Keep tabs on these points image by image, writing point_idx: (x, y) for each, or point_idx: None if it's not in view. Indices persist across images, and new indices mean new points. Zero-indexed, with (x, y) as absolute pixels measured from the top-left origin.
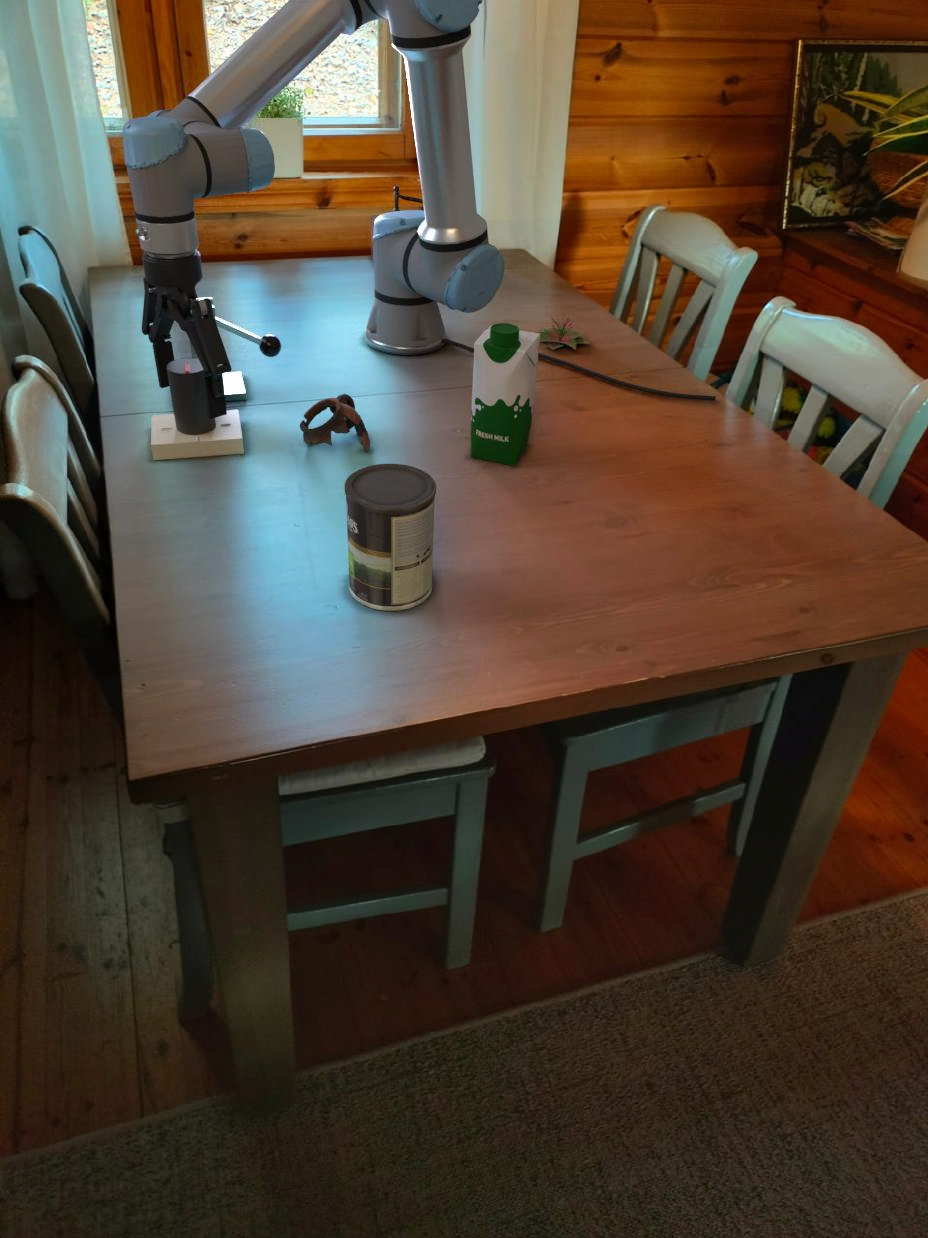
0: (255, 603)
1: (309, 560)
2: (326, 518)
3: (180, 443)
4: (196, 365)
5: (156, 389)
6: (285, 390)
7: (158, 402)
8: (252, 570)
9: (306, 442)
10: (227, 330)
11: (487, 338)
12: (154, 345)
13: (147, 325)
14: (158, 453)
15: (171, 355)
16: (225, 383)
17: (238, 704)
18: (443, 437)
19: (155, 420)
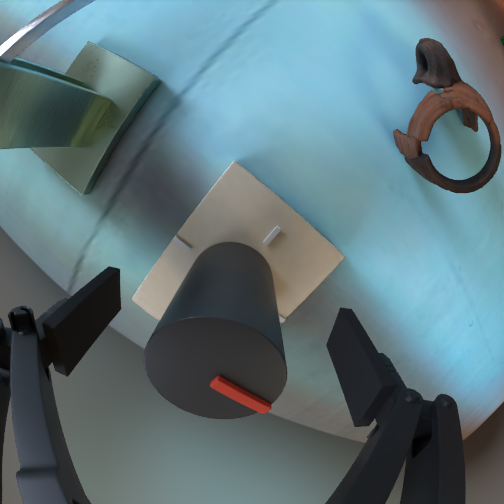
0: (465, 396)
1: (487, 347)
2: (488, 295)
3: None
4: (236, 362)
5: (34, 184)
6: (192, 10)
7: (65, 211)
8: (456, 384)
9: (428, 180)
10: (37, 38)
11: None
12: (62, 372)
13: (10, 390)
14: None
15: (79, 312)
16: (97, 85)
17: (471, 424)
18: (483, 46)
19: (154, 310)
